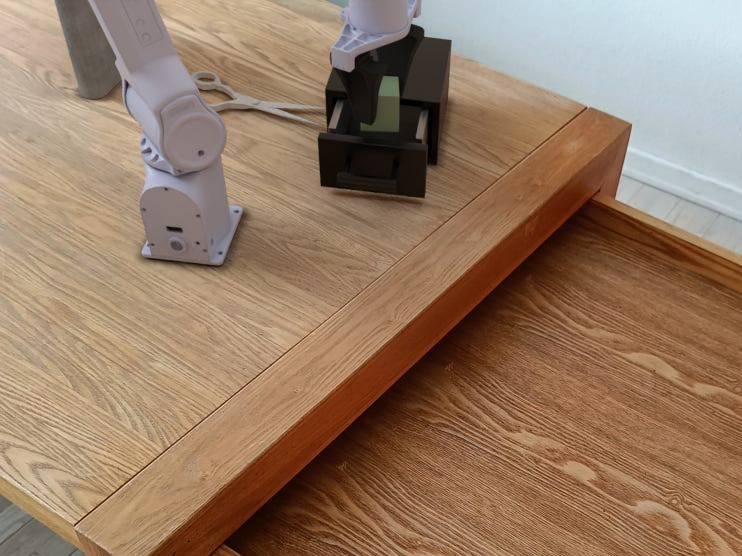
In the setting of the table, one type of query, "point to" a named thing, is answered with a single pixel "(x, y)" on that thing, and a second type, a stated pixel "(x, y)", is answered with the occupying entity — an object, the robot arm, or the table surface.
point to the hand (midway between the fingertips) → (378, 108)
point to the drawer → (376, 153)
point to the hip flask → (88, 49)
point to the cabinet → (414, 88)
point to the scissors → (245, 98)
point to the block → (386, 107)
